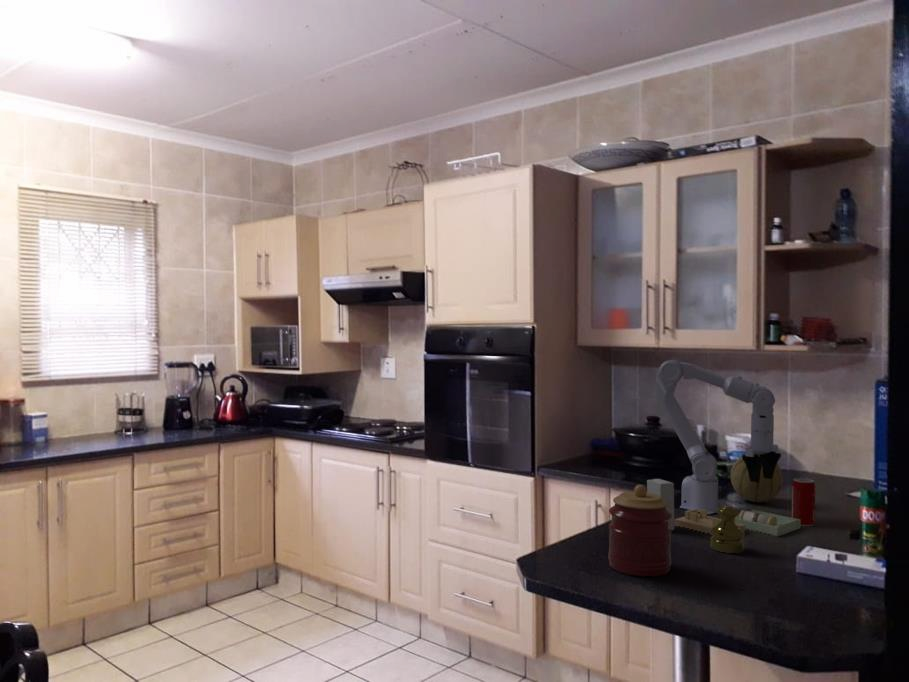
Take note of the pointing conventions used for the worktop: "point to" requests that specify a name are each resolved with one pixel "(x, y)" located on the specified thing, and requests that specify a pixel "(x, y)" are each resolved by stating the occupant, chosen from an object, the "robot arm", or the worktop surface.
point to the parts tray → (781, 528)
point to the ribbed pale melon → (755, 483)
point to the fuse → (758, 518)
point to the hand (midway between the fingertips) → (761, 480)
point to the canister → (640, 534)
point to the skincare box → (663, 494)
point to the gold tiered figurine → (727, 532)
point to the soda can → (803, 501)
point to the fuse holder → (700, 521)
